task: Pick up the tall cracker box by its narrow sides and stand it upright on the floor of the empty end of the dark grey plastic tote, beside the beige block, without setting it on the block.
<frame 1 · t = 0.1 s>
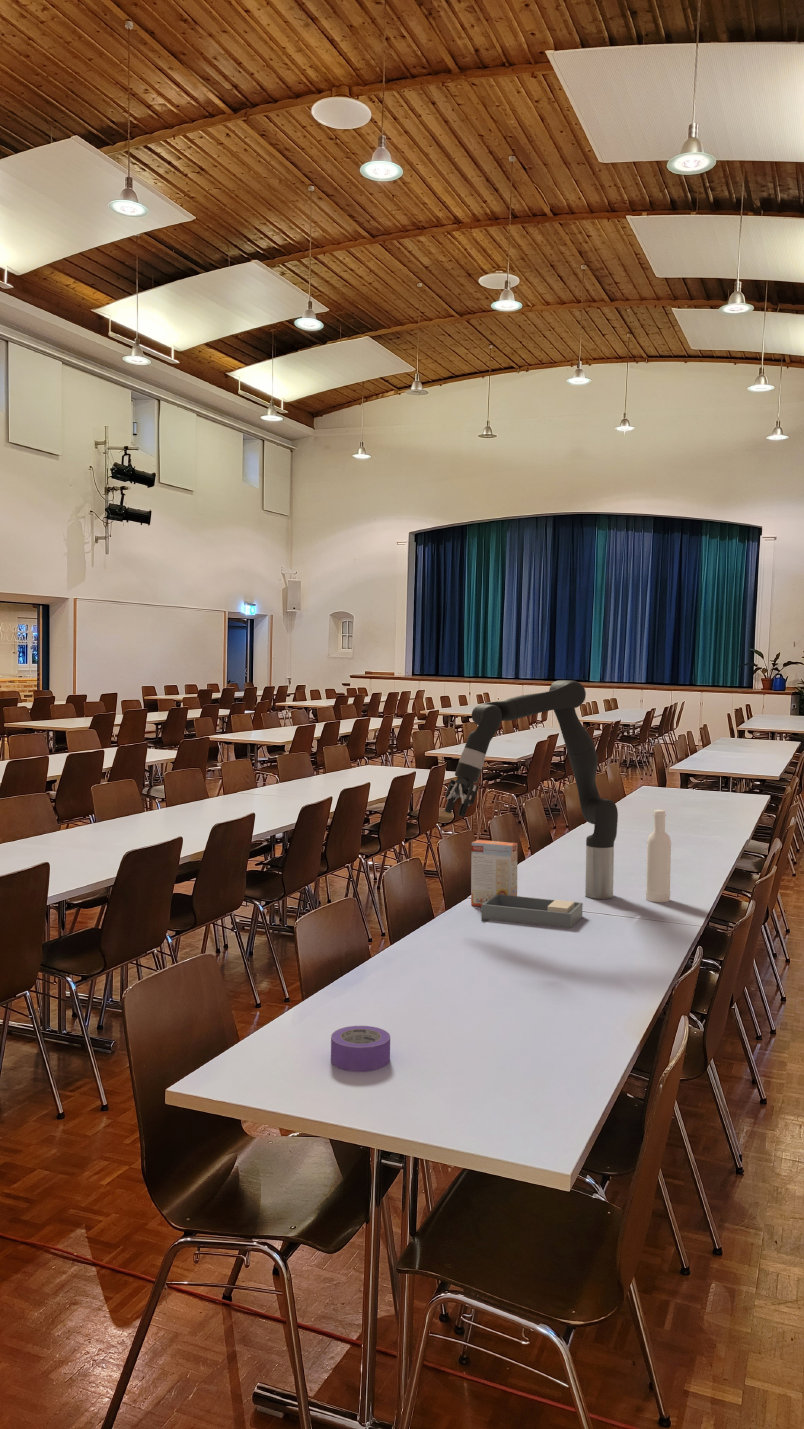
hand: (454, 814, 312), 31 cm above the table, tool tilted 20°, fingers open, 8 cm apart
cracker box: (494, 906, 324), on the table
tote: (532, 919, 307), on the table
beige block: (560, 920, 304), point 1 cm above the table, touching tote
tape roll: (360, 1061, 199), on the table
bottle: (657, 900, 334), on the table
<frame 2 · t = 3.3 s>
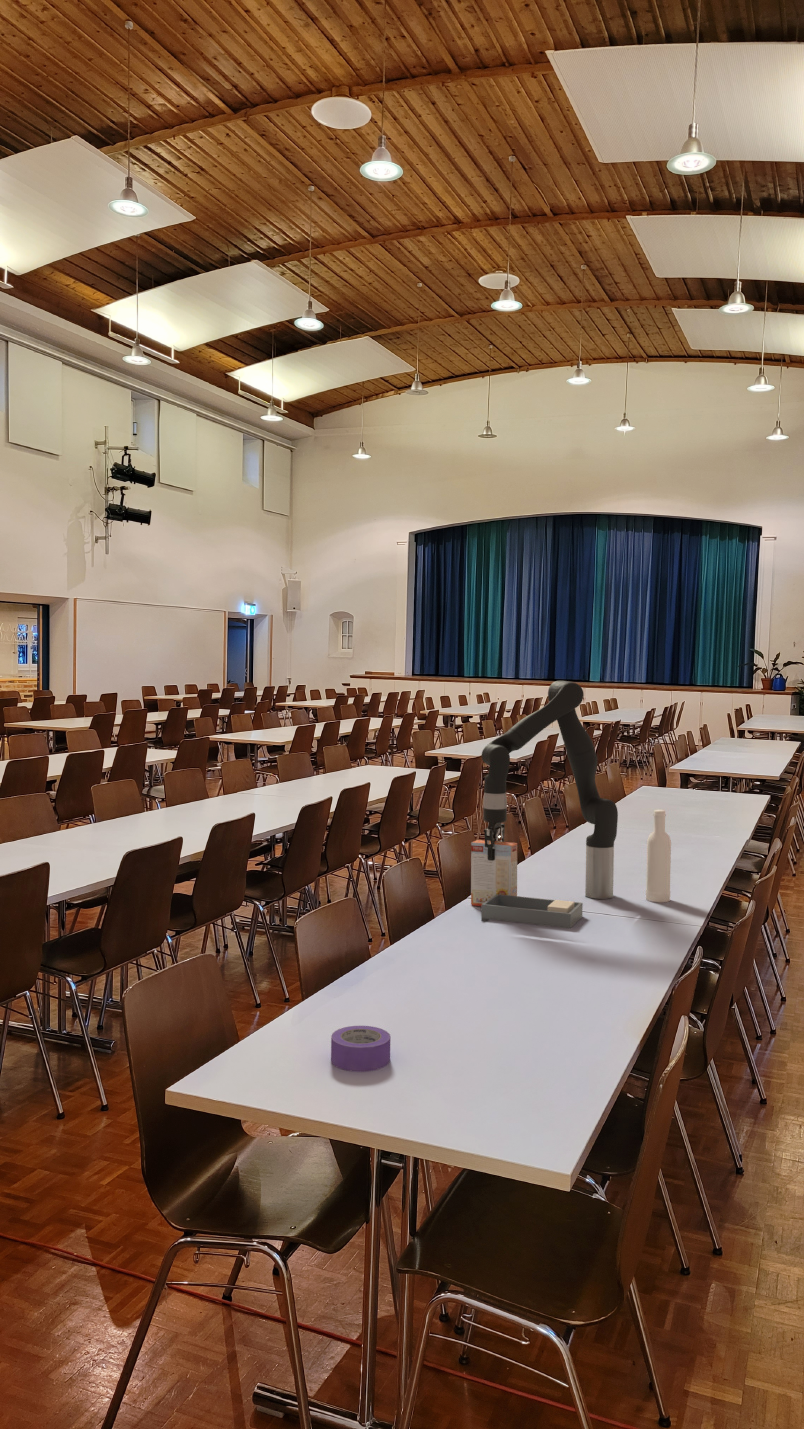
hand: (494, 858, 323), 16 cm above the table, tool pointing down, fingers closed on cracker box, 6 cm apart
cracker box: (493, 906, 324), on the table, touching gripper
everything else where it was.
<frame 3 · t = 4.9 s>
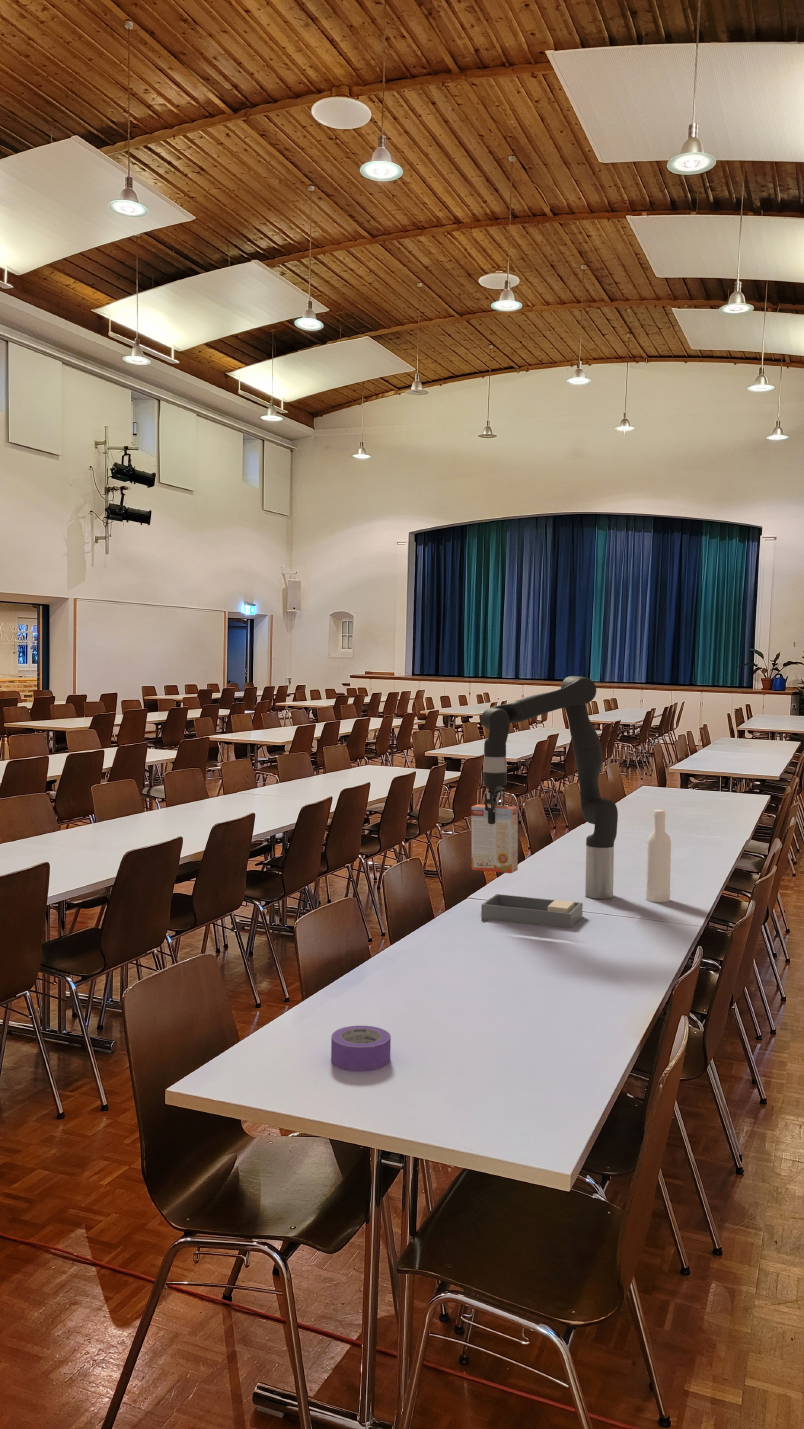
hand: (494, 822, 323), 27 cm above the table, tool pointing down, fingers closed on cracker box, 6 cm apart
cracker box: (494, 870, 324), point 11 cm above the table, touching gripper
everything else where it was.
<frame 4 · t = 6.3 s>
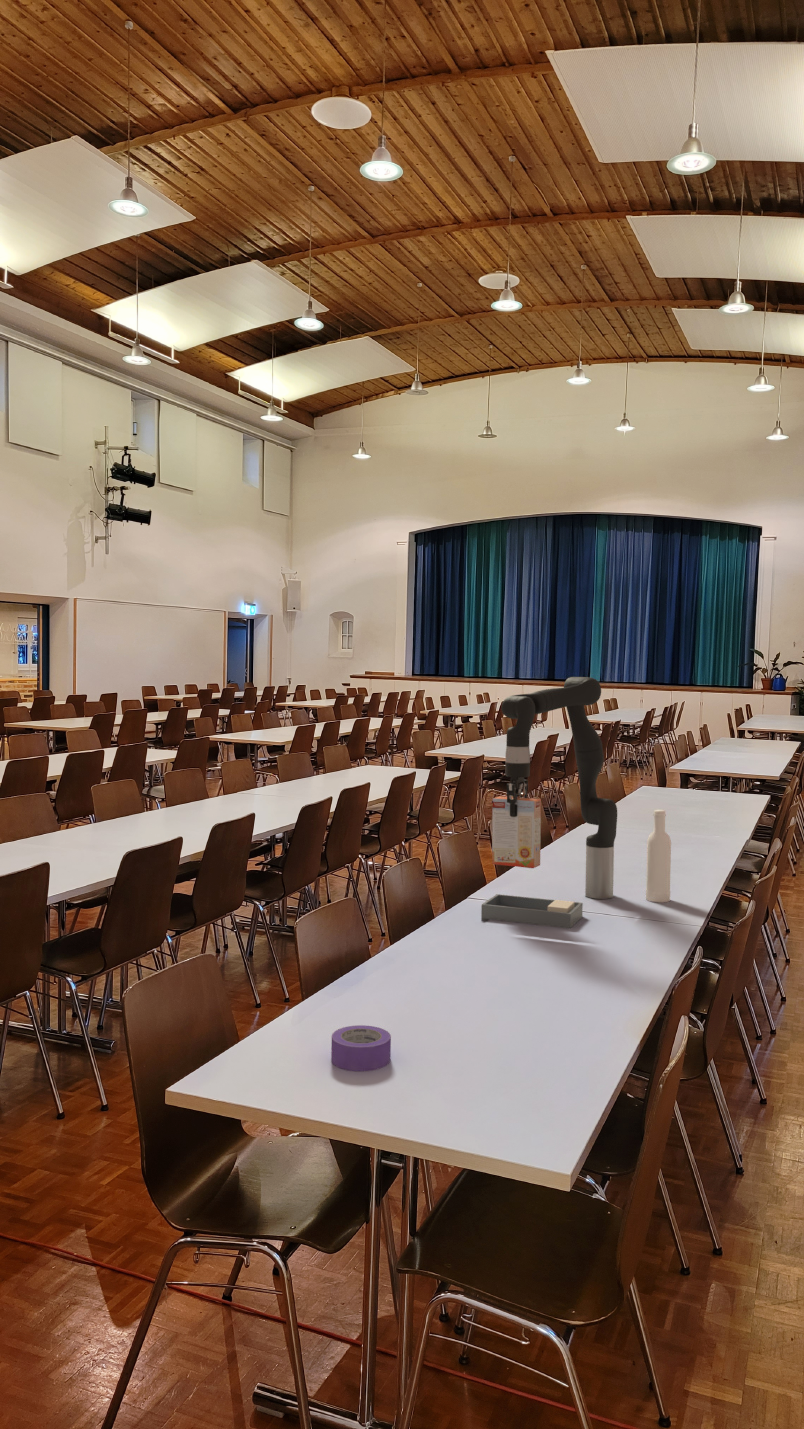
hand: (516, 814, 310), 32 cm above the table, tool pointing down, fingers closed on cracker box, 6 cm apart
cracker box: (516, 865, 310), point 16 cm above the table, touching gripper
everything else where it was.
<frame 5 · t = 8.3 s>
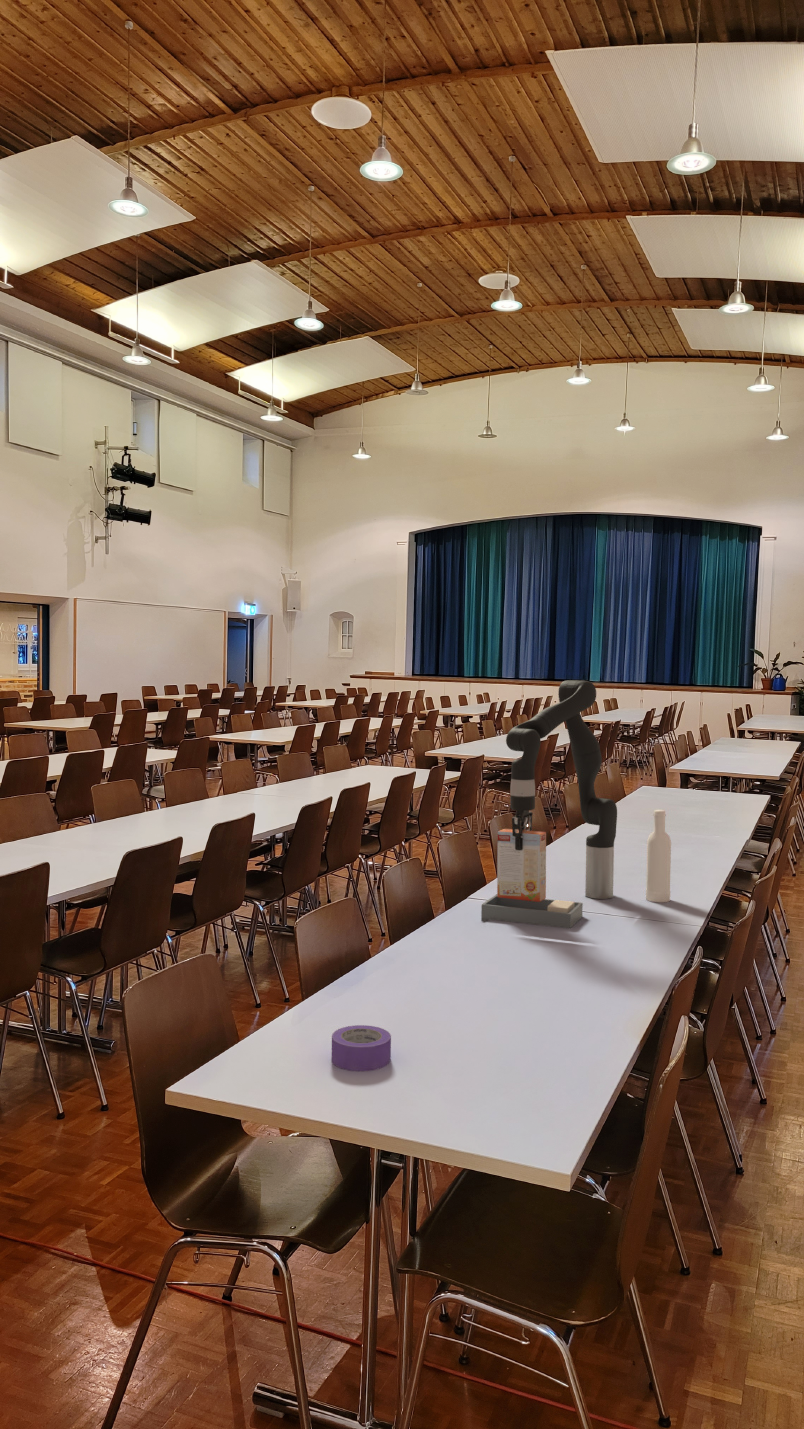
hand: (522, 847, 308), 22 cm above the table, tool pointing down, fingers closed on cracker box, 6 cm apart
cracker box: (521, 898, 308), point 6 cm above the table, touching gripper
everything else where it was.
when the fingers open (18 cm above the table, at t = 9.7 s): cracker box drops 1 cm, resting on tote.
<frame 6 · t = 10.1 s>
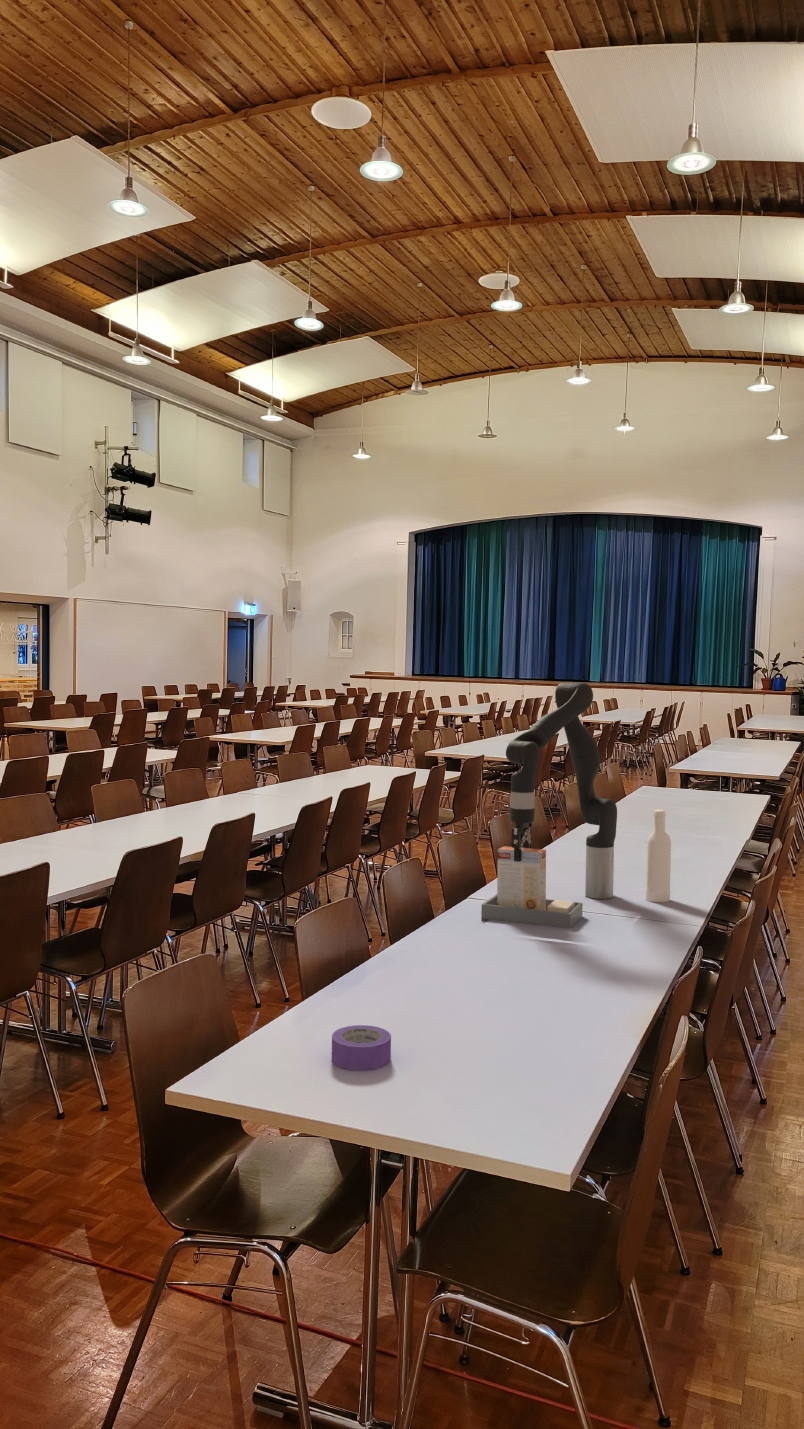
hand: (521, 858, 308), 19 cm above the table, tool pointing down, fingers open, 8 cm apart
cracker box: (521, 916, 309), point 1 cm above the table, touching tote
everything else where it was.
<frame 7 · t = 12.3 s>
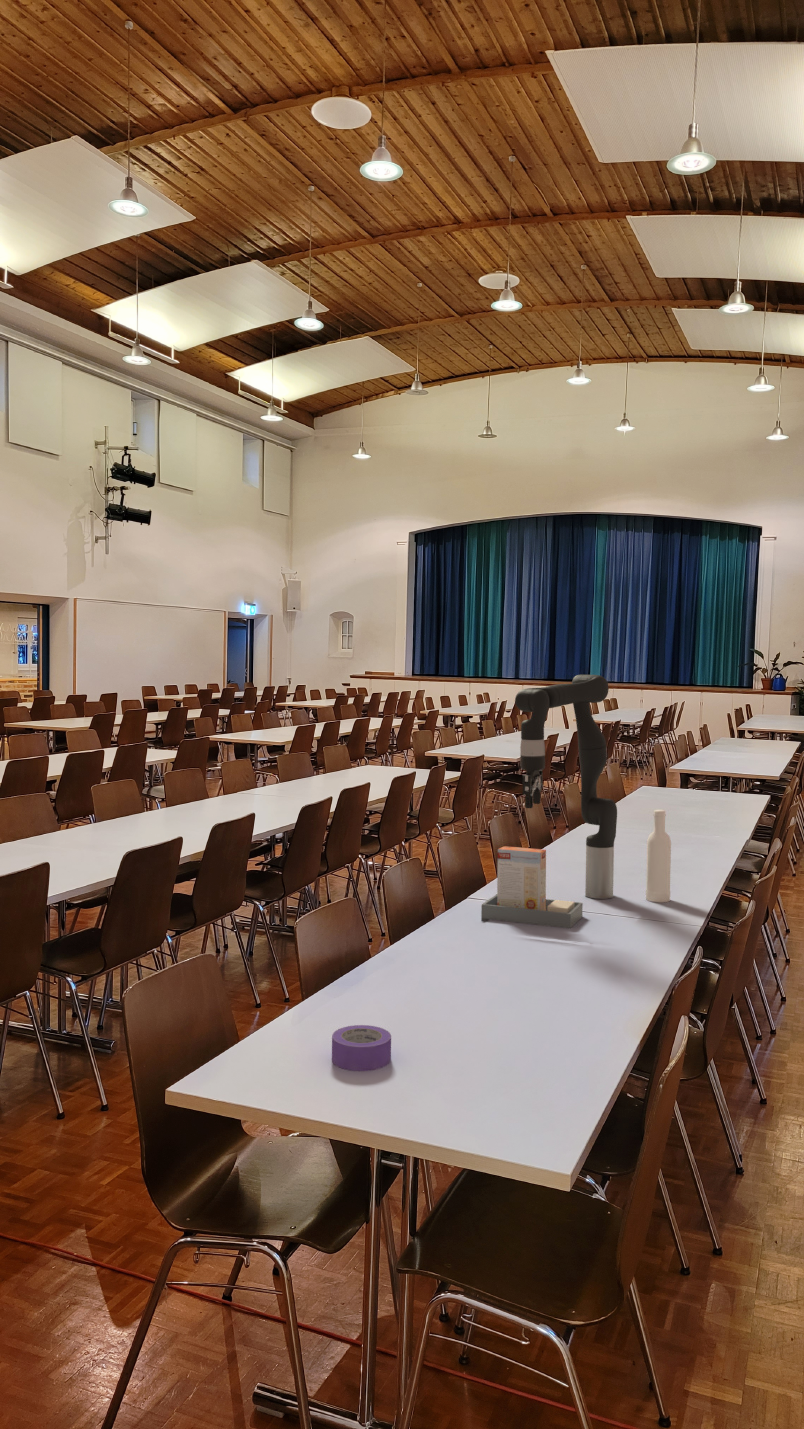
hand: (533, 805, 310), 34 cm above the table, tool pointing down, fingers open, 8 cm apart
nothing on the table moved.
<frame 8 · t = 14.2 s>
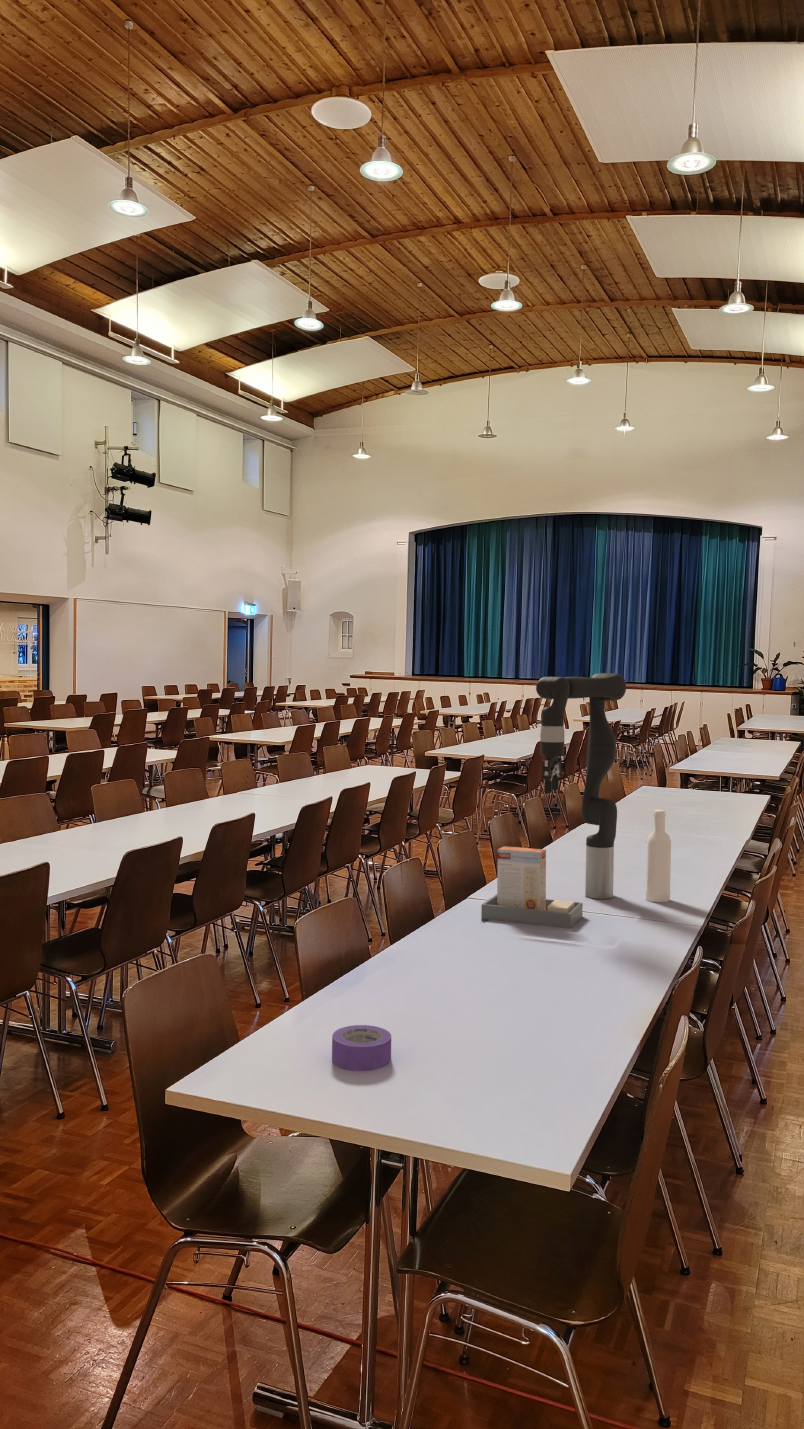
hand: (551, 791, 317), 38 cm above the table, tool pointing down, fingers open, 8 cm apart
nothing on the table moved.
at the end: cracker box inside the target area on the tote (2.1 cm from its centre), point 0.6 cm above the tote's base; cracker box tilted 0°; beige block moved 0.1 cm from its start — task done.
